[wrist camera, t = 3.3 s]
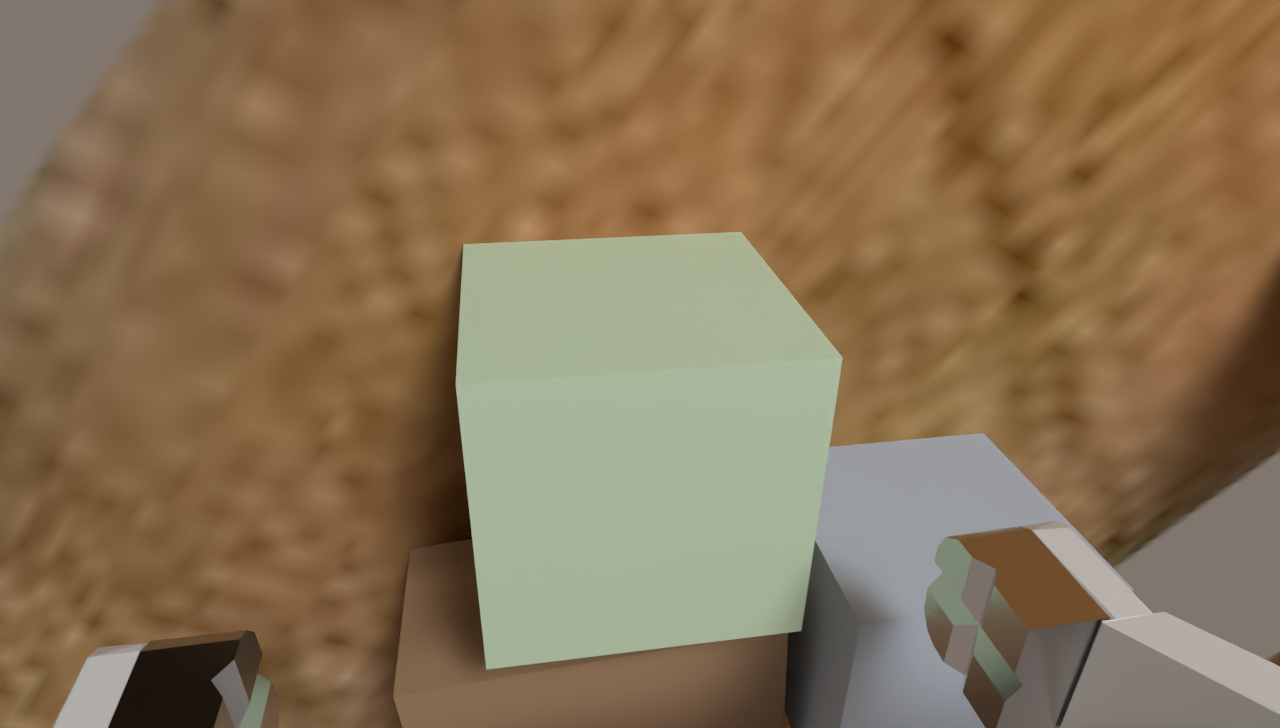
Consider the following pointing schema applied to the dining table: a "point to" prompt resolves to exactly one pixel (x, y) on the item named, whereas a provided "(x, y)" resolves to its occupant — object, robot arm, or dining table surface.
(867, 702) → the slate blue block
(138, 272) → the dining table surface
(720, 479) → the sage green block
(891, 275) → the dining table surface
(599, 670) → the walnut slab
